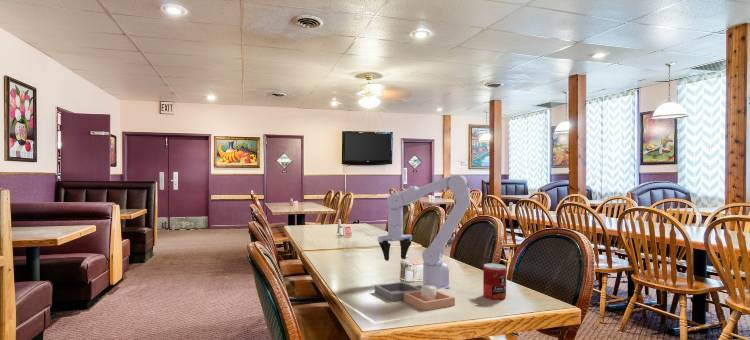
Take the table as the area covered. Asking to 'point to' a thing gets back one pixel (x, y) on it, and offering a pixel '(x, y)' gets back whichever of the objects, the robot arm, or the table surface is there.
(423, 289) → the white rounded cylinder
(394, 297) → the bin
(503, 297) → the canned food
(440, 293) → the dump bin
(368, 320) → the table surface
